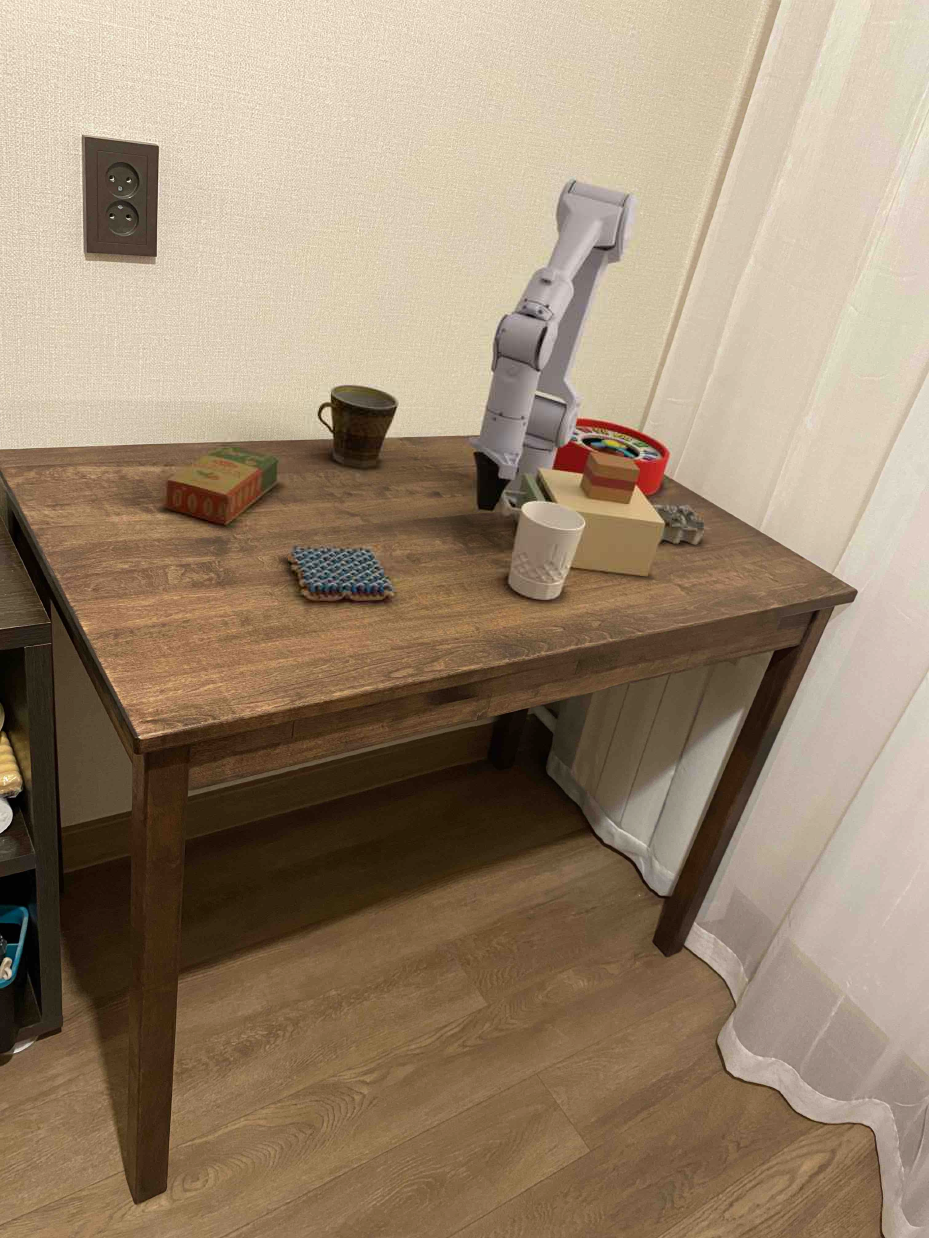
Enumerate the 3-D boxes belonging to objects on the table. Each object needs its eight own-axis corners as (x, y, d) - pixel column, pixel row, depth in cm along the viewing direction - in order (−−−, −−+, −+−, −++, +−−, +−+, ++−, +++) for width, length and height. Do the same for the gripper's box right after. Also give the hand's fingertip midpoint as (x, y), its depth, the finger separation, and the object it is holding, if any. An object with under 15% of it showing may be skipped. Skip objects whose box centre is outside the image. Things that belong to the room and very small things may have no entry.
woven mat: (370, 559, 112) (373, 544, 111) (395, 604, 103) (398, 588, 102) (285, 558, 107) (287, 542, 106) (304, 604, 99) (306, 588, 98)
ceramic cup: (361, 444, 145) (371, 383, 140) (400, 469, 140) (412, 406, 135) (292, 451, 137) (300, 386, 132) (331, 478, 131) (340, 411, 126)
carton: (163, 509, 112) (164, 477, 110) (220, 469, 126) (222, 440, 124) (227, 527, 111) (229, 495, 109) (277, 485, 125) (280, 455, 123)
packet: (587, 498, 122) (598, 463, 120) (579, 485, 126) (589, 451, 123) (629, 504, 123) (640, 470, 121) (620, 491, 127) (630, 457, 125)
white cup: (546, 610, 110) (568, 535, 105) (491, 584, 113) (509, 510, 108) (574, 590, 116) (595, 519, 111) (521, 565, 119) (540, 495, 114)
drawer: (498, 550, 119) (509, 506, 116) (483, 509, 130) (492, 468, 127) (626, 566, 124) (640, 524, 120) (600, 525, 134) (612, 485, 131)
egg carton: (644, 543, 134) (653, 518, 132) (623, 520, 141) (631, 496, 139) (706, 546, 138) (715, 522, 136) (683, 524, 144) (691, 501, 142)
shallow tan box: (545, 564, 121) (560, 508, 117) (524, 519, 133) (537, 467, 129) (647, 576, 124) (665, 523, 120) (617, 531, 136) (633, 481, 132)
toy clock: (616, 418, 168) (693, 460, 155) (608, 447, 171) (682, 492, 157) (532, 418, 157) (607, 464, 143) (524, 450, 160) (597, 498, 146)
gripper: (469, 389, 122) (449, 483, 128) (486, 426, 110) (463, 527, 116) (519, 397, 123) (497, 489, 130) (542, 434, 111) (516, 534, 118)
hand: (485, 508), depth 123 cm, fingers closed, pressing on drawer
